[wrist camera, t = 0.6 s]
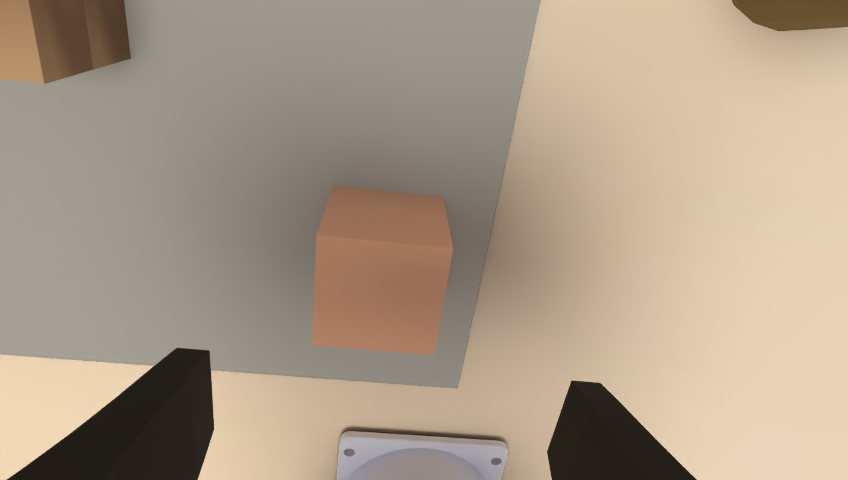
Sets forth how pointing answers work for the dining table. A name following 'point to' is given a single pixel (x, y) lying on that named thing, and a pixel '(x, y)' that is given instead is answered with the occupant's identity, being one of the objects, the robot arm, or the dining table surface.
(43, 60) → the tower top
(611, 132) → the dining table surface
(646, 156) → the dining table surface
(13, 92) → the mat
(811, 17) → the olive pawn
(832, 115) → the dining table surface
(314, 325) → the cube
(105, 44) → the tower bottom
